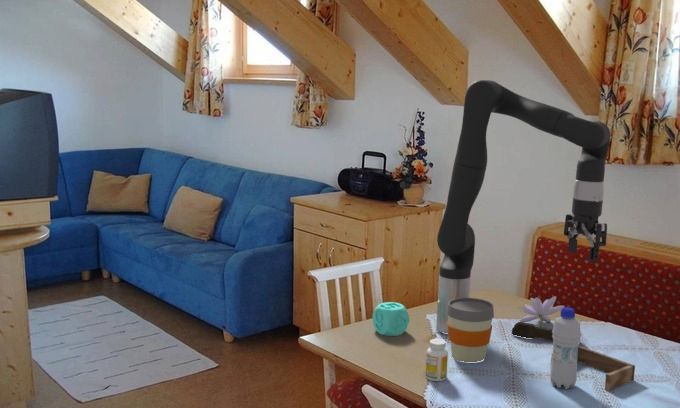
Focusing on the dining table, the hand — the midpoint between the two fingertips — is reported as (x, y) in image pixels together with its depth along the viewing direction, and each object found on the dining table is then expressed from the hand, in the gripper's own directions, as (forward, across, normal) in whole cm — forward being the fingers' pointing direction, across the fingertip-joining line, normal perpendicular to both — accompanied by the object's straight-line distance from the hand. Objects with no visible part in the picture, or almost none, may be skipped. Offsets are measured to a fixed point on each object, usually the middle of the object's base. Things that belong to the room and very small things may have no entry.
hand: (582, 256), depth 188 cm
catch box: (+28, +12, -3) cm, 31 cm away
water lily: (+29, -25, +7) cm, 39 cm away
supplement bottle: (+29, +1, -43) cm, 52 cm away
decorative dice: (+29, -33, -40) cm, 60 cm away
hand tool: (+29, -13, 0) cm, 32 cm away
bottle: (+28, +15, -15) cm, 35 cm away
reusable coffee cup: (+29, -8, -28) cm, 41 cm away
